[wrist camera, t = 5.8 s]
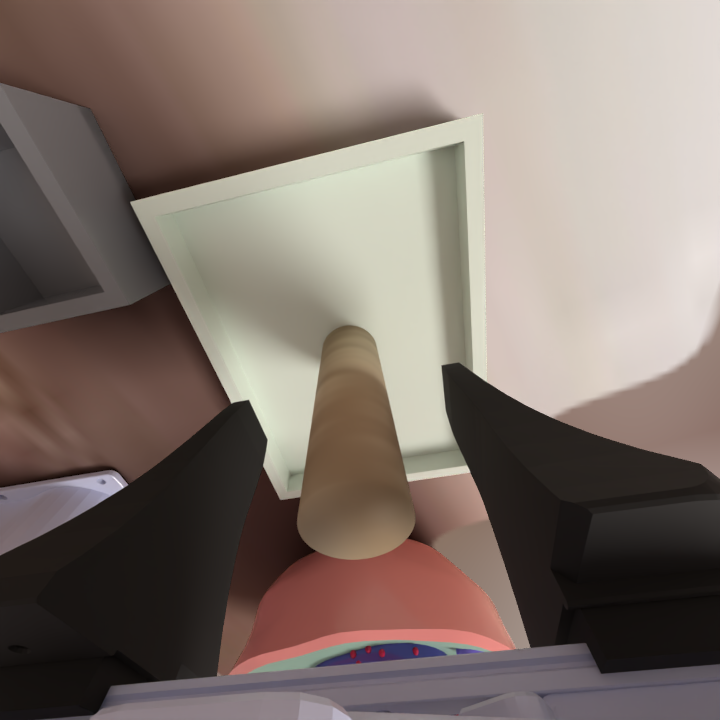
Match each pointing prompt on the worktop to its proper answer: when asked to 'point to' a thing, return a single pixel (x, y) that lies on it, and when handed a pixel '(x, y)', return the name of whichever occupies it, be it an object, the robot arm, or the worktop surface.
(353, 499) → the dowel
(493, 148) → the worktop surface
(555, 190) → the worktop surface
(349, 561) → the cell model
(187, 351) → the worktop surface
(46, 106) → the grey square box
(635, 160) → the worktop surface
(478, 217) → the tray
